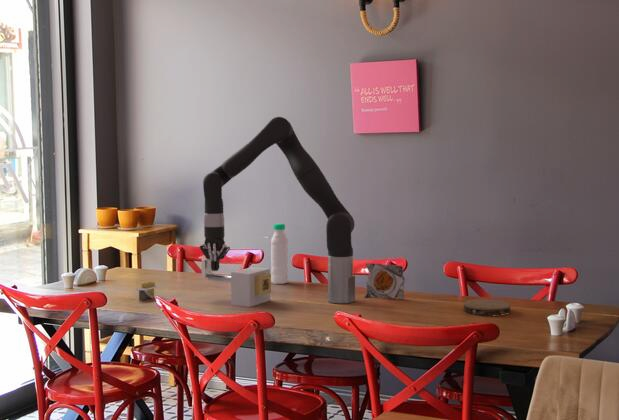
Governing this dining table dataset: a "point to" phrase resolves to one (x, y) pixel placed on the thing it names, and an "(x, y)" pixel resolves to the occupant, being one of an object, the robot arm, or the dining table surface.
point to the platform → (146, 290)
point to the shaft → (209, 274)
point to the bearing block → (247, 287)
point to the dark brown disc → (486, 307)
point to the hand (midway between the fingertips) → (215, 270)
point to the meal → (385, 281)
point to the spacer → (259, 284)
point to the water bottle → (279, 255)
